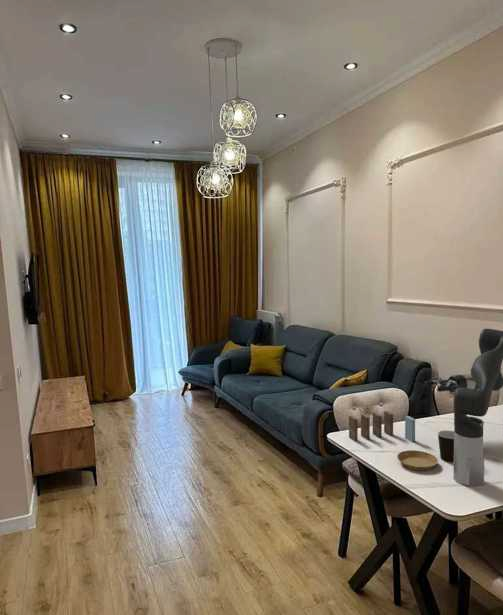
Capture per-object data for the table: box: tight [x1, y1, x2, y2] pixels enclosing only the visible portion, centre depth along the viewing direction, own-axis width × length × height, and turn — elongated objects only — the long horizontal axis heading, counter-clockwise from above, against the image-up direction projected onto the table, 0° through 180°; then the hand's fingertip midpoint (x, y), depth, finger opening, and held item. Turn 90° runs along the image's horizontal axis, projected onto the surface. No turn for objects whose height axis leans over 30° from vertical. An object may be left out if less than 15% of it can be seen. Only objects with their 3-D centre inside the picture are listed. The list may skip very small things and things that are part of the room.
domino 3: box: [372, 412, 383, 438], centre depth 203 cm, size 2×5×10 cm, turn 16°
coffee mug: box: [437, 430, 454, 463], centre depth 178 cm, size 12×9×10 cm
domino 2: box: [360, 413, 371, 440], centre depth 201 cm, size 2×5×10 cm, turn 16°
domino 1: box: [348, 415, 359, 442], centre depth 200 cm, size 2×5×10 cm, turn 16°
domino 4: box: [383, 410, 394, 437], centre depth 205 cm, size 2×5×10 cm, turn 16°
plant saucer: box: [397, 449, 438, 471], centre depth 174 cm, size 15×15×3 cm
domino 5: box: [404, 415, 416, 443], centre depth 197 cm, size 2×5×10 cm, turn 16°
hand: (431, 386), depth 200 cm, fingers open, 8 cm apart
